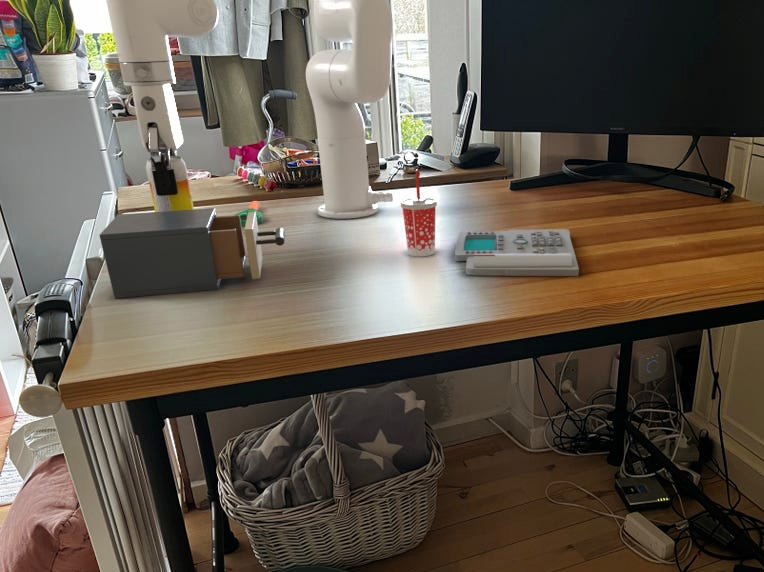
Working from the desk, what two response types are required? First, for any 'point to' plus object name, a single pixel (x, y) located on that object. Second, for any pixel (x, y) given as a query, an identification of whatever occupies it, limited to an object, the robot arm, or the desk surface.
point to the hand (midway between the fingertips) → (170, 189)
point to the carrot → (252, 208)
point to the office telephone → (517, 253)
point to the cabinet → (160, 253)
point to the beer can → (184, 193)
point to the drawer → (239, 245)
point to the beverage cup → (419, 223)
